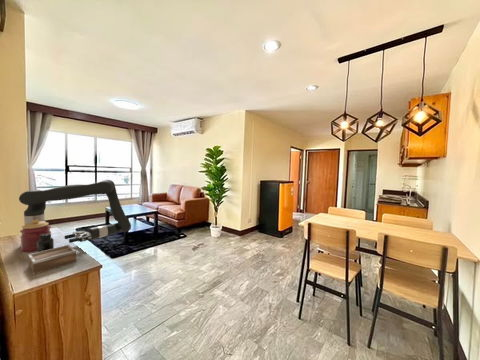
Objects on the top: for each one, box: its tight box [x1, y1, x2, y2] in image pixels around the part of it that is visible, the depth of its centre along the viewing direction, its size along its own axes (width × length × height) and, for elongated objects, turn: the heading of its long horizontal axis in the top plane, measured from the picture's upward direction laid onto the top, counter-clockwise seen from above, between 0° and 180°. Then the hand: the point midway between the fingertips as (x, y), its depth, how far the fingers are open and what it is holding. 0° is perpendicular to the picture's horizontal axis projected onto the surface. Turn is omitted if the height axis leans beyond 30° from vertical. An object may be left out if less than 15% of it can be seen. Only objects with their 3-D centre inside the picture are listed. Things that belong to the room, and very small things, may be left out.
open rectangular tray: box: [27, 244, 77, 275], centre depth 104 cm, size 12×16×6 cm
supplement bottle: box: [36, 232, 55, 252], centre depth 112 cm, size 7×7×12 cm
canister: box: [19, 219, 52, 253], centre depth 121 cm, size 13×13×18 cm
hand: (66, 239), depth 120 cm, fingers open, 8 cm apart
